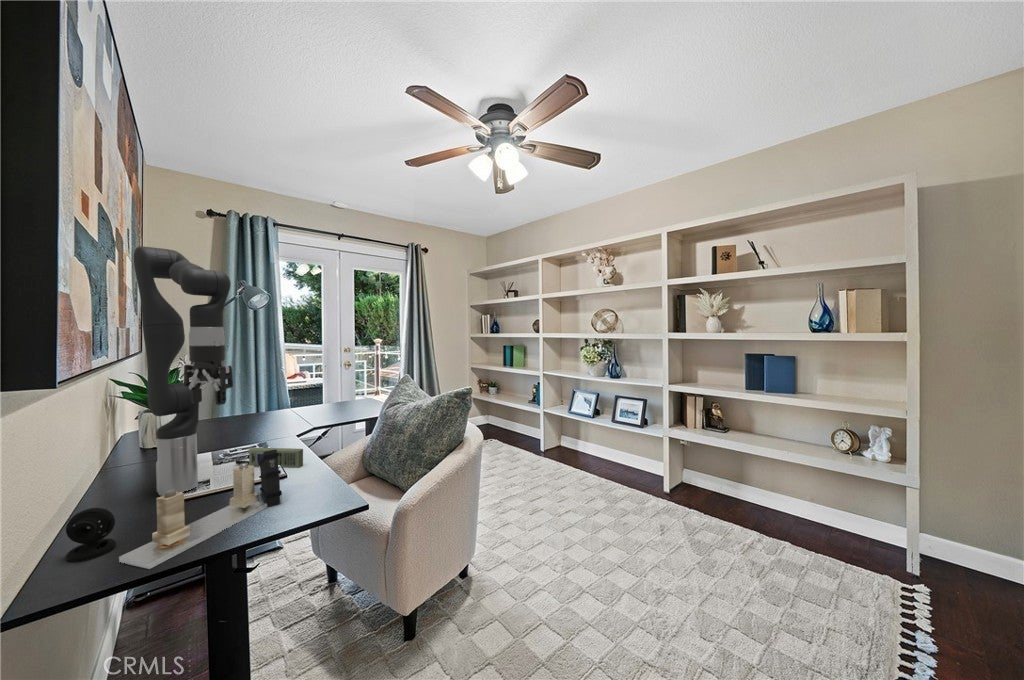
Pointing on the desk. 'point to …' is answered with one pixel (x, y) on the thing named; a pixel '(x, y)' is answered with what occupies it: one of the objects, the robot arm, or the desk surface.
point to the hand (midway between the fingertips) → (208, 403)
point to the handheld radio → (285, 458)
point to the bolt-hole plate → (204, 523)
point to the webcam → (90, 533)
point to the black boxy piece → (270, 477)
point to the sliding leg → (170, 518)
